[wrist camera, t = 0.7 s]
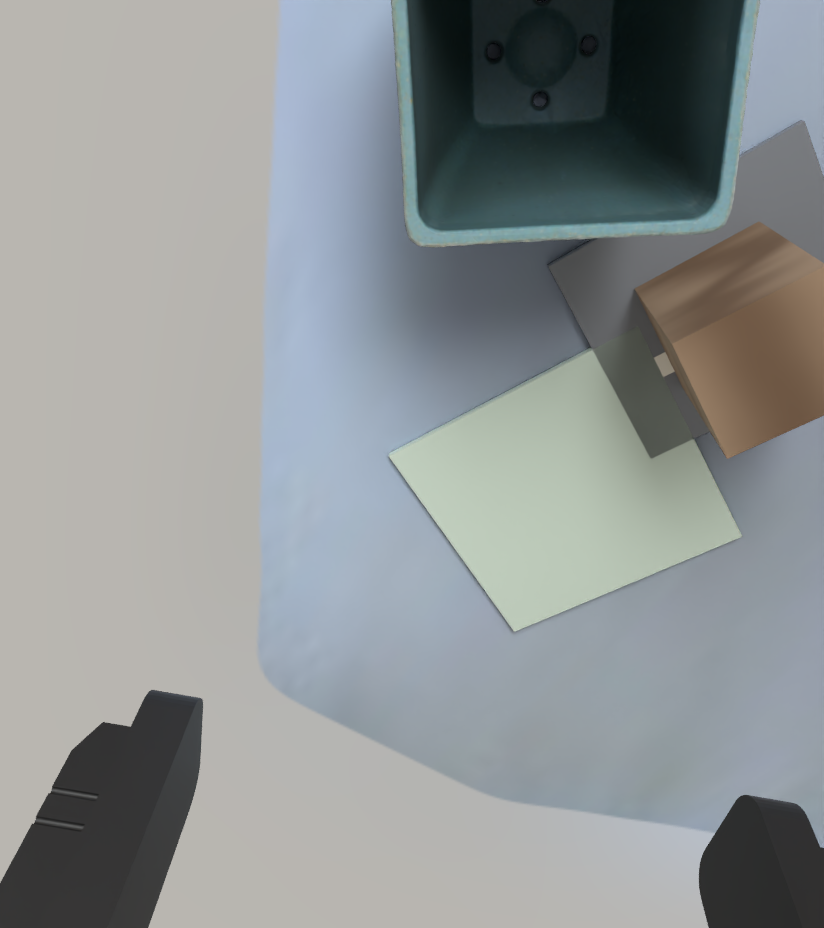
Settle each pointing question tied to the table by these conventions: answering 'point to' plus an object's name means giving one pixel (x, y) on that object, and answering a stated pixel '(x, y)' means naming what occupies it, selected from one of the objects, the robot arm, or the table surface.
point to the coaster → (567, 487)
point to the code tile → (643, 258)
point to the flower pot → (569, 117)
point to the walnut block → (744, 335)
